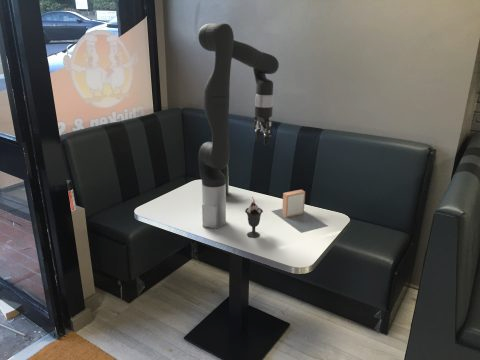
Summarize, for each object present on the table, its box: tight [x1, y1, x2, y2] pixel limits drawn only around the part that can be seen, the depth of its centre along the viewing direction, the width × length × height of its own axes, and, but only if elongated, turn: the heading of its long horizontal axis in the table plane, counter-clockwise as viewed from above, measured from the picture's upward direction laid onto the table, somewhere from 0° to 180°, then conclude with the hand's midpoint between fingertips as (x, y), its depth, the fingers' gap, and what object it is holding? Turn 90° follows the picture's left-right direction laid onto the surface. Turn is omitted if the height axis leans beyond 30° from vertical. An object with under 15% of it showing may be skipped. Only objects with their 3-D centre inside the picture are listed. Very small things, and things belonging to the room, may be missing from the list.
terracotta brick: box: [281, 189, 306, 218], centre depth 165 cm, size 3×9×10 cm, turn 117°
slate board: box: [271, 208, 329, 234], centre depth 164 cm, size 22×13×1 cm, turn 27°
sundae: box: [244, 196, 264, 239], centre depth 149 cm, size 7×7×15 cm
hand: (262, 142), depth 173 cm, fingers open, 8 cm apart
